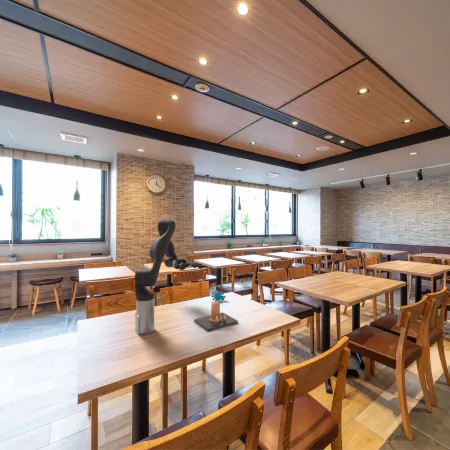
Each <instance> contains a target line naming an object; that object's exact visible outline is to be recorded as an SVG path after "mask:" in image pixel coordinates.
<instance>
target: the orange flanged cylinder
mask: <svg viewBox="0 0 450 450" xmlns="http://www.w3.org/2000/svg"><path fill="white" fill-rule="evenodd" d="M210 305H211V307H210V310H211V312H210V313H211V314H210V315H211V317H210V318H209V321H210V322H213V323H216V317H218V322H221V321H222V317H220V313H221V301H220V302H218V301H215V300H214V301H212V302H211V303H210Z"/></svg>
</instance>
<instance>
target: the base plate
mask: <svg viewBox="0 0 450 450" xmlns="http://www.w3.org/2000/svg"><path fill="white" fill-rule="evenodd" d="M210 317H211V314H210V315H206V316H202V317H198V318H194V319H193V321H194V322H193V323H194V324H196V325H197V326H199V327H200V328H202V329H203V330H204V331H205V332H207V333H210V332H212V331H216V330H221V329H222V328H226V327H230V326H234V325H236V324H237V325H238V324H239V320H238V319H235V318H234V317H232V316H230V315H228V314H226V313H225V312H220V317H222V321H221V322H218V317H216V323H213V322H210V321H209V318H210Z"/></svg>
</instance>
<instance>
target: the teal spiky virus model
mask: <svg viewBox="0 0 450 450" xmlns="http://www.w3.org/2000/svg"><path fill="white" fill-rule="evenodd" d="M211 294H212V295H211V298H212V301H214V302H215V301H217V302H220V304H221V303H223V301H225V299H226V297H227V296H226V295H224V293H223V292H222V291H221V290H217V289H216V290H214V291H213V292H212V293H211Z"/></svg>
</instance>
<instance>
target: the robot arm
mask: <svg viewBox="0 0 450 450" xmlns="http://www.w3.org/2000/svg"><path fill="white" fill-rule="evenodd" d="M176 226H177V225H176V222H175V221H174V220H170V219H169V220H168V219H160V220H159V221H158V223H157V231H158V236H159V237H158V238H157V239H155V240H154V241H153V242H152V244H151V246H150V249H149V257H150V259H151V262H152V266H151V268H139V269H137V270H136V271H135V273H134V291H135V293H134V294H135V297H136V298H135V300H136V303H135V306H136V307H135V311H136V312H135V314H134V315H135V318H134V319H135V321H134V322H135V329H134V331H135V332H136V334H137V335H148V334H150V333H152V332H154V331H155V293H154V291H152V290H150V289H148V288H147V287H154V286H155V285H156V283H157V281H158V277H159V275H160V270H161V266H162V263H164V266H165V267H166V268H167V267H168V268H173V269H175V270H180V271H185V270H186V269H192V268H193V269H197V267H198V266H197V262H188V261H187V260H186V259H184V258H181V257H178V256H177V253H176V250H175V245H174V243H173V242H172V241H171V239H172V237H173V235H174V233H175V231H176Z"/></svg>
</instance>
